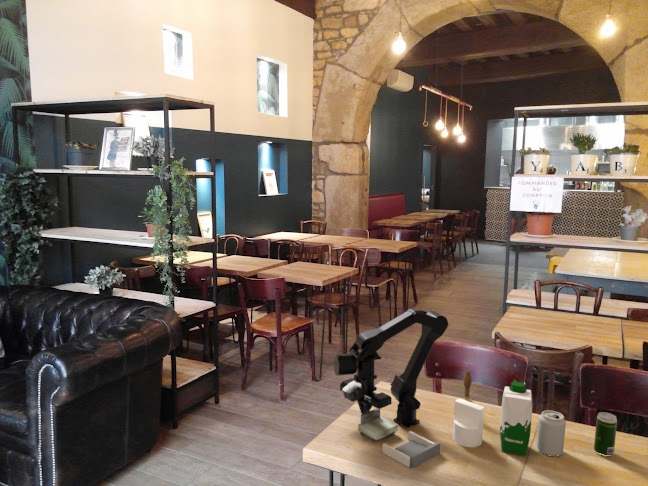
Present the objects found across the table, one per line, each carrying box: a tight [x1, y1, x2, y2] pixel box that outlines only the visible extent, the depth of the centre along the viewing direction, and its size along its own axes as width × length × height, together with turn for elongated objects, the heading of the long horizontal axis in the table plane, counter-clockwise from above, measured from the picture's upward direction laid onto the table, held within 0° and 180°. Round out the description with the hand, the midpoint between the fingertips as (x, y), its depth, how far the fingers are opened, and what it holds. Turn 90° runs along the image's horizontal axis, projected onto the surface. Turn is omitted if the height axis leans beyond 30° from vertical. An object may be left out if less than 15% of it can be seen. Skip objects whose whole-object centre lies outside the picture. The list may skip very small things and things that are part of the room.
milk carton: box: [499, 380, 533, 457], centre depth 161 cm, size 9×9×20 cm
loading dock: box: [381, 430, 441, 470], centre depth 159 cm, size 13×12×4 cm
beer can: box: [593, 411, 618, 456], centre depth 160 cm, size 5×5×12 cm
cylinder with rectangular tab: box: [452, 398, 485, 448], centre depth 166 cm, size 9×9×12 cm
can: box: [536, 409, 567, 457], centre depth 161 cm, size 8×8×12 cm
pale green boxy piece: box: [357, 407, 399, 443], centre depth 169 cm, size 10×8×6 cm
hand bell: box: [462, 370, 474, 403], centre depth 183 cm, size 8×8×16 cm
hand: (364, 417), depth 174 cm, fingers closed
